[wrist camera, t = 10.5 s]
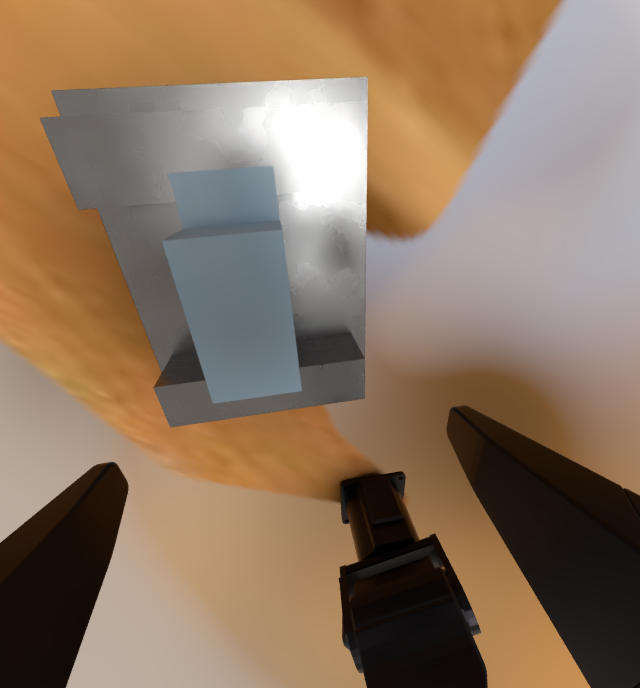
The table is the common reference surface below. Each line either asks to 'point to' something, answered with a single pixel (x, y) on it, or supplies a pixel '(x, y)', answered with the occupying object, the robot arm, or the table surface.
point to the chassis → (229, 153)
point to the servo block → (235, 281)
